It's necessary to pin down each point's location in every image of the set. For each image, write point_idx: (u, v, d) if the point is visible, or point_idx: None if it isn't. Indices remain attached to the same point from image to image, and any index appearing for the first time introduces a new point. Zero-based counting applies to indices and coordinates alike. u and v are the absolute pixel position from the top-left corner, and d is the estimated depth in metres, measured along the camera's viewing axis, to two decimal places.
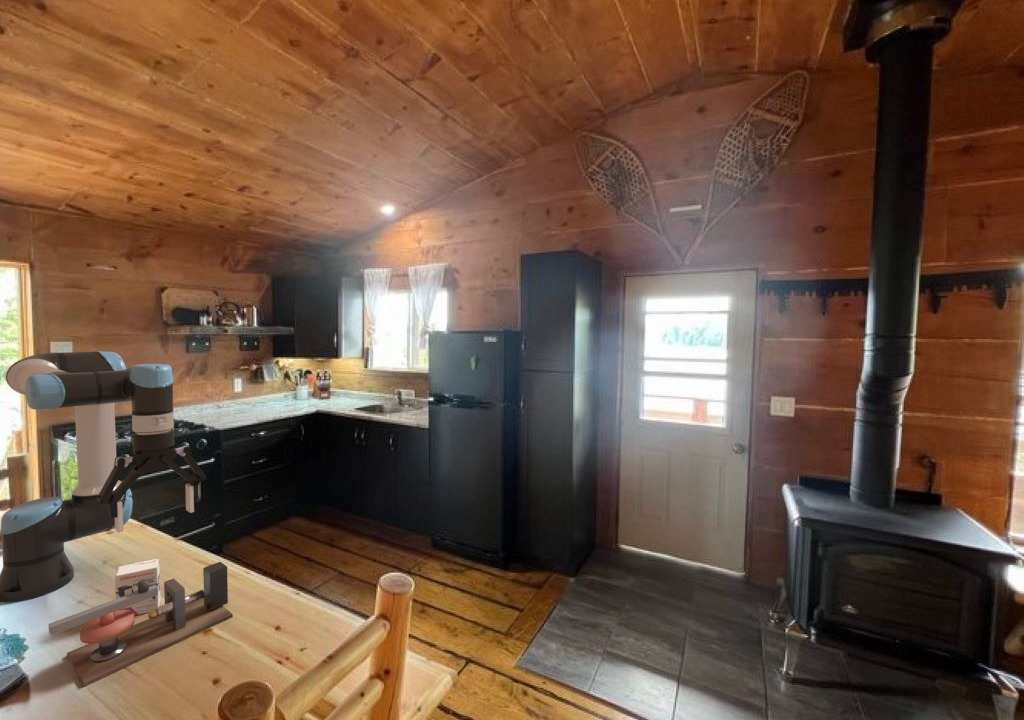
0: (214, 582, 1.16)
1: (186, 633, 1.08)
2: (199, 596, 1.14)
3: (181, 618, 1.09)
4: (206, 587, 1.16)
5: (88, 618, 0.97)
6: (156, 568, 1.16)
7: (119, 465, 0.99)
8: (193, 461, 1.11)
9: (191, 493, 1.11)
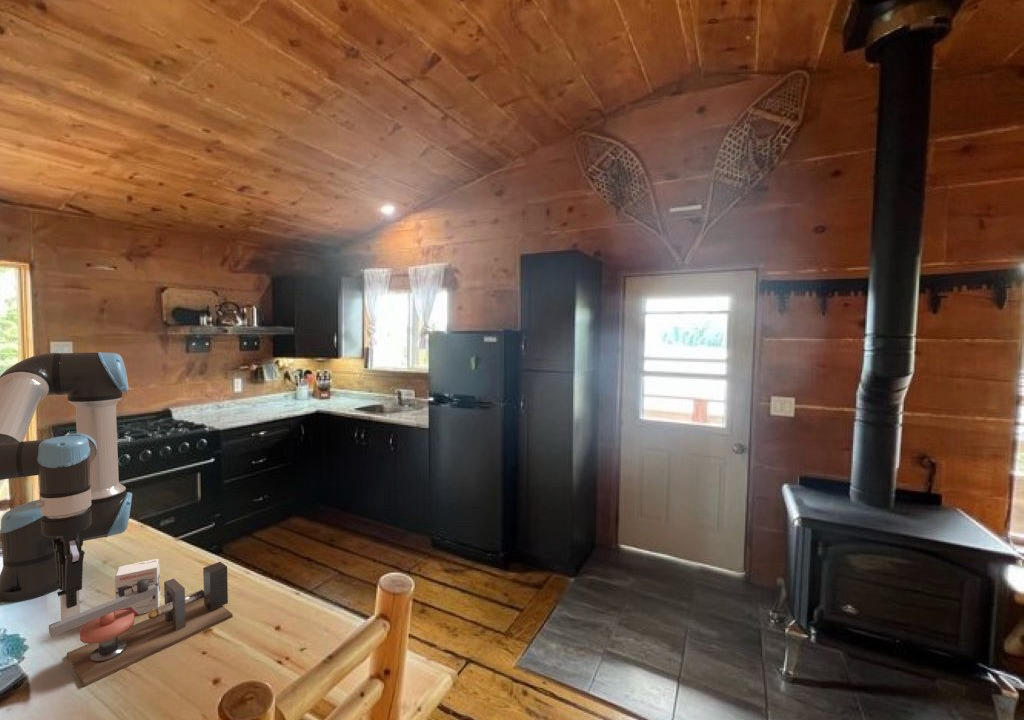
0: (214, 582, 1.16)
1: (186, 633, 1.08)
2: (199, 596, 1.14)
3: (181, 618, 1.09)
4: (206, 587, 1.16)
5: (88, 618, 0.97)
6: (156, 568, 1.16)
7: None
8: (66, 571, 0.92)
9: (61, 601, 0.94)
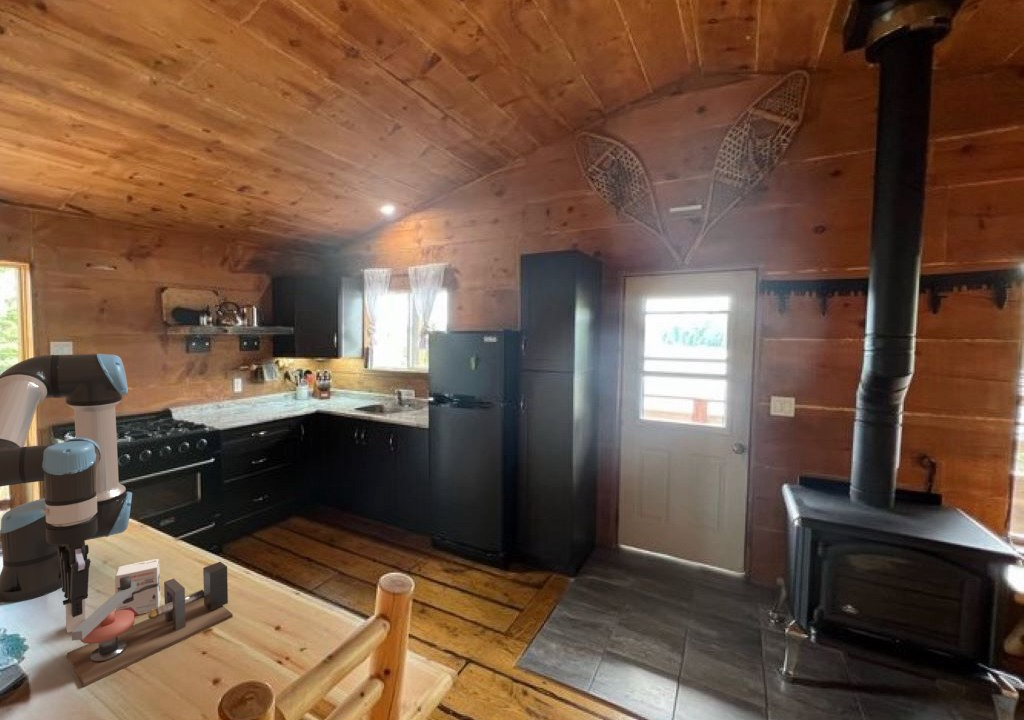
0: (214, 582, 1.16)
1: (186, 633, 1.08)
2: (199, 596, 1.14)
3: (181, 618, 1.09)
4: (206, 587, 1.16)
5: (101, 618, 0.97)
6: (156, 568, 1.16)
7: None
8: (71, 579, 0.90)
9: (66, 609, 0.93)
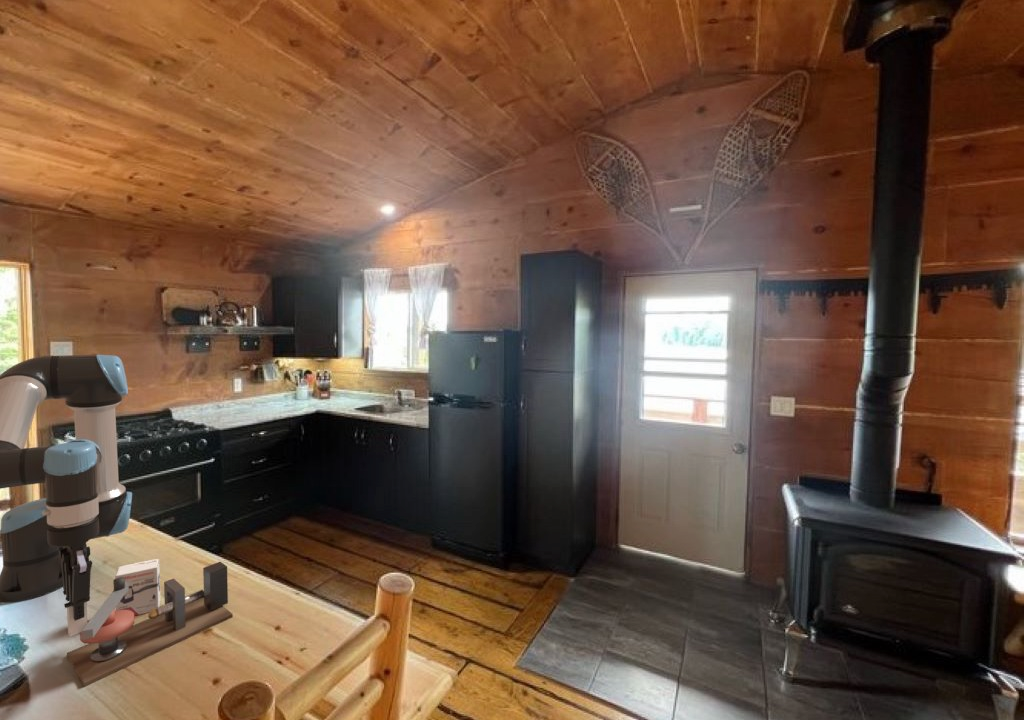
0: (214, 582, 1.16)
1: (186, 633, 1.08)
2: (199, 596, 1.14)
3: (181, 618, 1.09)
4: (206, 587, 1.16)
5: (105, 617, 0.97)
6: (156, 568, 1.16)
7: None
8: (73, 582, 0.89)
9: (68, 613, 0.91)
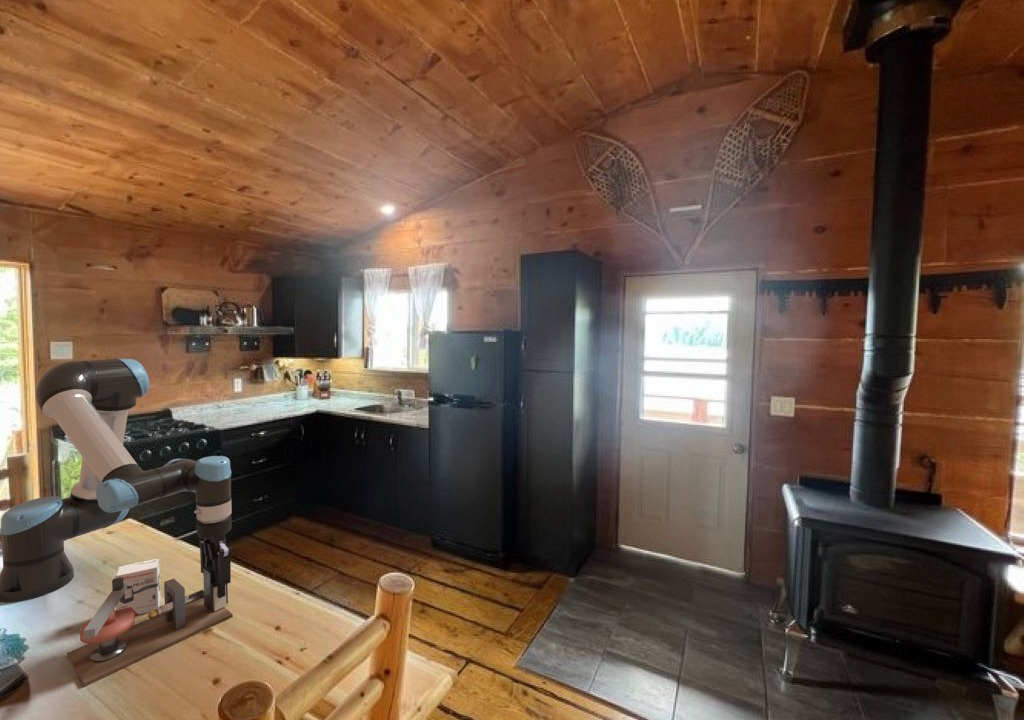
0: (214, 582, 1.16)
1: (186, 633, 1.08)
2: (199, 596, 1.14)
3: (181, 618, 1.09)
4: (206, 587, 1.17)
5: (106, 616, 0.97)
6: (156, 568, 1.16)
7: (199, 542, 1.20)
8: (219, 565, 1.13)
9: (213, 592, 1.15)
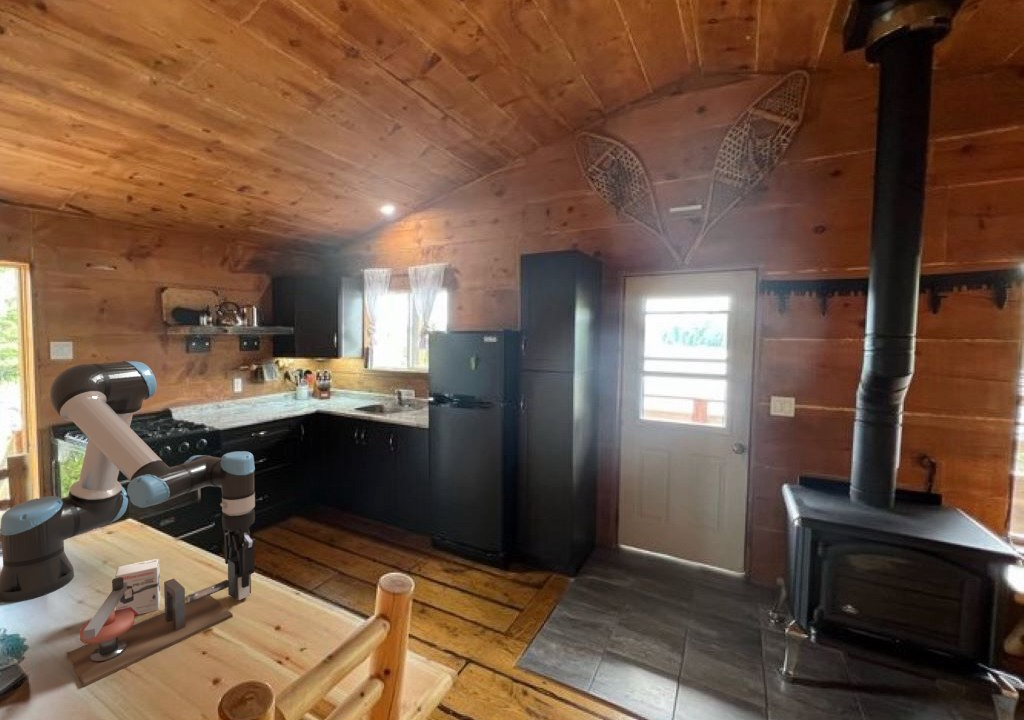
0: None
1: (186, 633, 1.08)
2: (224, 586, 1.19)
3: (181, 618, 1.09)
4: (230, 578, 1.21)
5: (106, 616, 0.97)
6: (156, 568, 1.16)
7: (224, 534, 1.24)
8: (244, 556, 1.18)
9: (238, 582, 1.20)
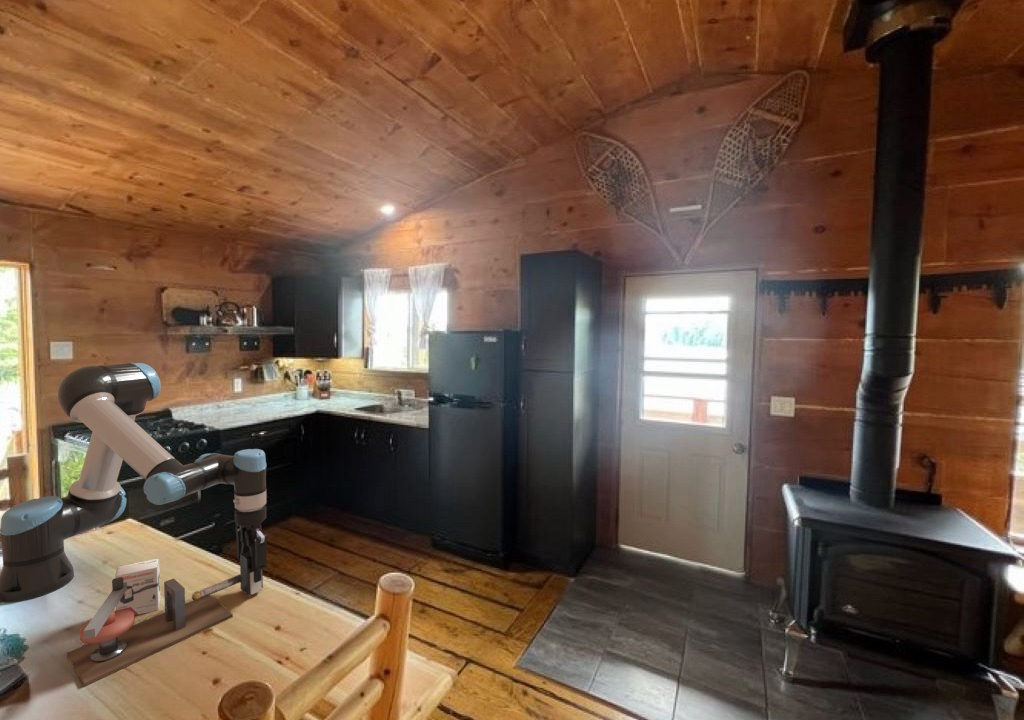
0: (251, 568, 1.23)
1: (186, 633, 1.08)
2: (237, 580, 1.21)
3: (181, 618, 1.09)
4: (243, 573, 1.24)
5: (106, 616, 0.97)
6: (156, 568, 1.16)
7: (236, 530, 1.27)
8: (256, 551, 1.20)
9: (250, 577, 1.23)
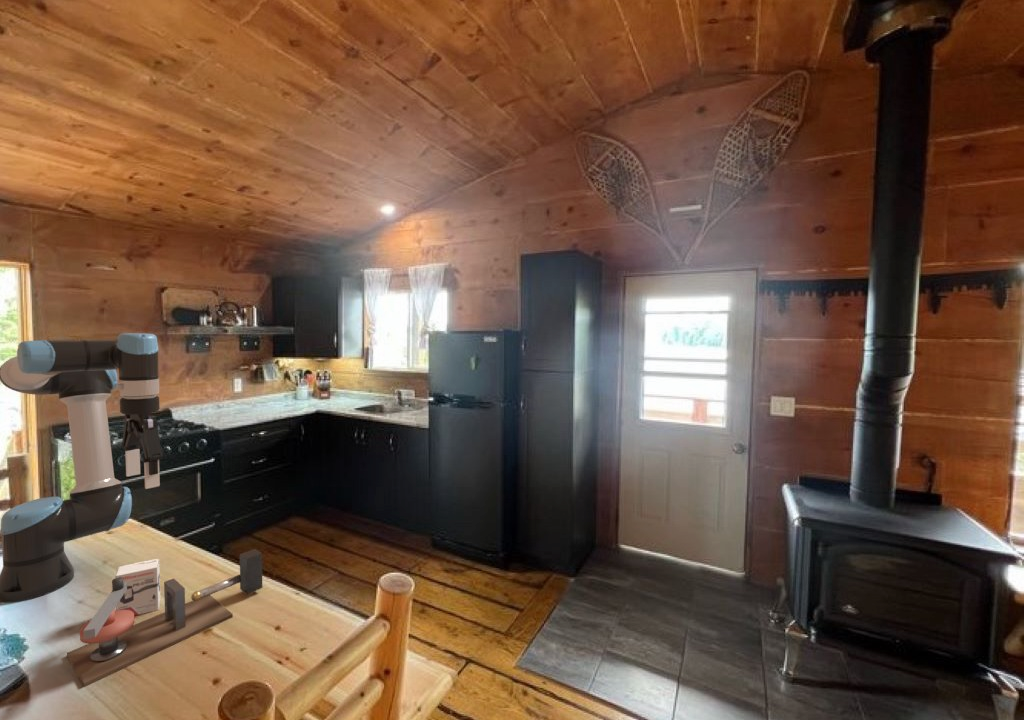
0: (251, 568, 1.23)
1: (186, 633, 1.08)
2: (237, 580, 1.21)
3: (181, 618, 1.09)
4: (242, 573, 1.24)
5: (106, 616, 0.97)
6: (156, 568, 1.16)
7: (125, 418, 1.14)
8: (145, 436, 1.06)
9: (144, 469, 1.07)
